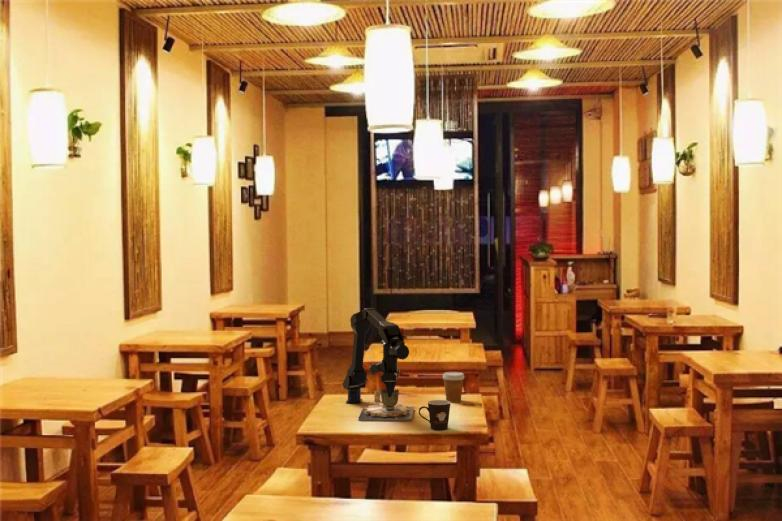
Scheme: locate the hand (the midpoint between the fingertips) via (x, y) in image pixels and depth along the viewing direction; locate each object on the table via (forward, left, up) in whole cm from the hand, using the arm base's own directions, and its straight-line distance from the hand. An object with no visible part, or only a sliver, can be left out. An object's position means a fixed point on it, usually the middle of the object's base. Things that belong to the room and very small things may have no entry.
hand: (390, 394), depth 340 cm
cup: (0, 0, -6) cm, 6 cm away
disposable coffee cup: (-31, +25, -9) cm, 41 cm away
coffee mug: (+17, +18, -9) cm, 27 cm away
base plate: (-4, -2, -9) cm, 10 cm away
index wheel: (-4, -2, -8) cm, 9 cm away
